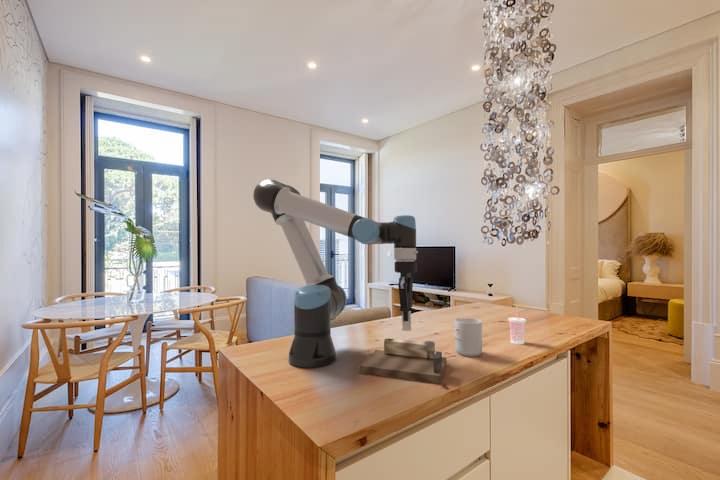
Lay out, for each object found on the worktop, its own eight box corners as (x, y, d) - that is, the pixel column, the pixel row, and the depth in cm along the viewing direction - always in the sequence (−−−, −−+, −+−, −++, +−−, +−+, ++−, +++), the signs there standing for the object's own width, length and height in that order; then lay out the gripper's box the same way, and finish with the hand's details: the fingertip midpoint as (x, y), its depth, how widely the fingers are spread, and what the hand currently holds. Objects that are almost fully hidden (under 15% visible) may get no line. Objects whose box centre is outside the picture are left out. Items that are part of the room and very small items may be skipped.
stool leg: (435, 355, 104) (435, 341, 104) (433, 358, 101) (433, 344, 101) (385, 350, 109) (385, 336, 109) (382, 353, 106) (382, 339, 106)
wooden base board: (359, 372, 96) (359, 351, 96) (375, 355, 111) (375, 337, 111) (440, 383, 88) (440, 360, 88) (446, 364, 103) (446, 344, 103)
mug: (488, 355, 111) (487, 322, 111) (466, 358, 108) (465, 324, 108) (465, 345, 122) (465, 315, 123) (444, 348, 119) (444, 317, 119)
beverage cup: (518, 339, 130) (517, 304, 131) (530, 344, 124) (529, 306, 125) (505, 340, 129) (504, 304, 129) (516, 345, 123) (515, 307, 123)
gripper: (412, 261, 106) (414, 335, 105) (419, 260, 118) (421, 326, 117) (389, 261, 108) (391, 334, 108) (399, 260, 121) (400, 325, 120)
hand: (406, 330), depth 112 cm, fingers closed
